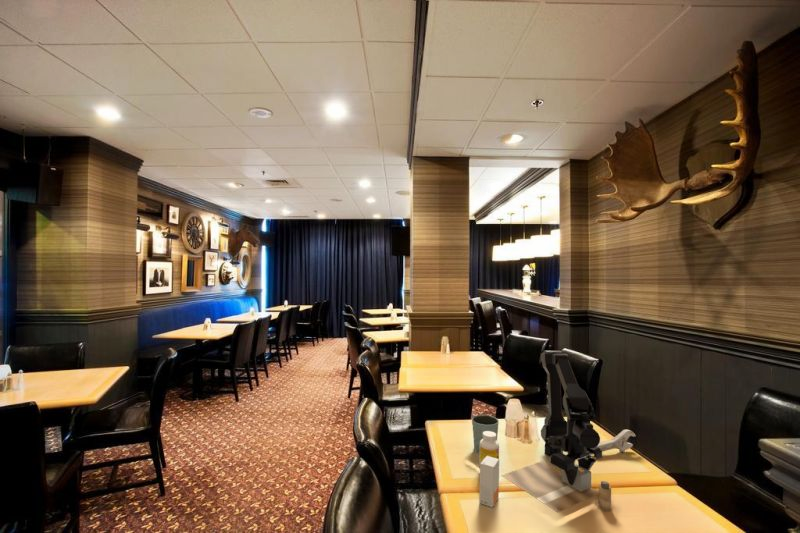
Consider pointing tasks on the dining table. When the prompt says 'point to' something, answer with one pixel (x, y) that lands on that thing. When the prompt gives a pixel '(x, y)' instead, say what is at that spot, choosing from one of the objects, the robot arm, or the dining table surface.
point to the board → (548, 486)
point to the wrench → (617, 442)
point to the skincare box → (489, 481)
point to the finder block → (579, 479)
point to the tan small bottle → (605, 496)
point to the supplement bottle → (489, 446)
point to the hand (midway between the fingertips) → (576, 482)
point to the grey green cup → (483, 428)
